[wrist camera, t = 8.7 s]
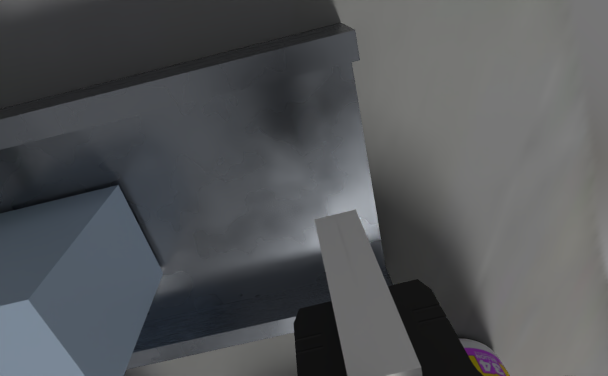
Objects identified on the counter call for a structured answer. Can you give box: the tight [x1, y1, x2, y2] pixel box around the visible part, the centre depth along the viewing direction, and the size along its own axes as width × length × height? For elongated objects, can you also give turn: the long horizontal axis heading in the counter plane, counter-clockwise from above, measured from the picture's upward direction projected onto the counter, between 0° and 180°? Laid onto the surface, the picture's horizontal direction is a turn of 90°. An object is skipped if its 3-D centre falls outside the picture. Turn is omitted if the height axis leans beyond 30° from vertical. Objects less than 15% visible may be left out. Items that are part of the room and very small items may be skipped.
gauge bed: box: [0, 23, 393, 370], centre depth 15 cm, size 22×13×9 cm, turn 103°
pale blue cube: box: [0, 185, 163, 376], centre depth 14 cm, size 6×8×7 cm
